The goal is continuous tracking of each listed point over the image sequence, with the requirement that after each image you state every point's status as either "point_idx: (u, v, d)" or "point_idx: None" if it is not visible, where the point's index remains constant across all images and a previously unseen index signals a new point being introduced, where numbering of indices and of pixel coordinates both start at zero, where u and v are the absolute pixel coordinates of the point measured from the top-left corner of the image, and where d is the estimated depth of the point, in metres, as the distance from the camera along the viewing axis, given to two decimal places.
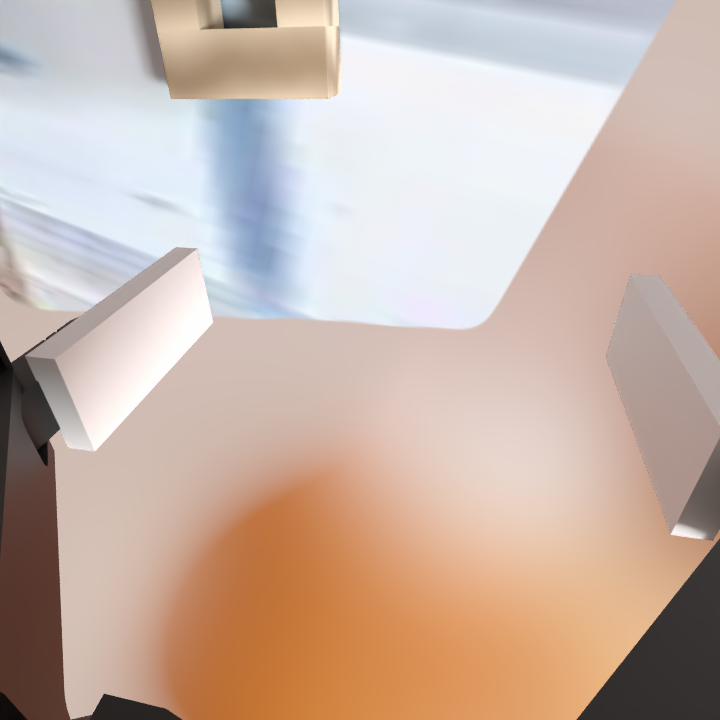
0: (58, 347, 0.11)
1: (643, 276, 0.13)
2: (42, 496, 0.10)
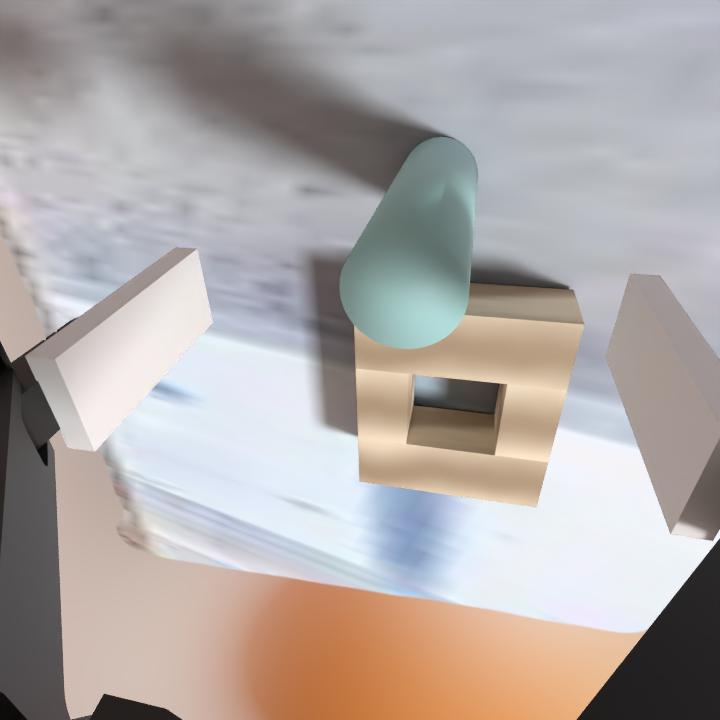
0: (58, 347, 0.11)
1: (643, 276, 0.13)
2: (42, 496, 0.10)
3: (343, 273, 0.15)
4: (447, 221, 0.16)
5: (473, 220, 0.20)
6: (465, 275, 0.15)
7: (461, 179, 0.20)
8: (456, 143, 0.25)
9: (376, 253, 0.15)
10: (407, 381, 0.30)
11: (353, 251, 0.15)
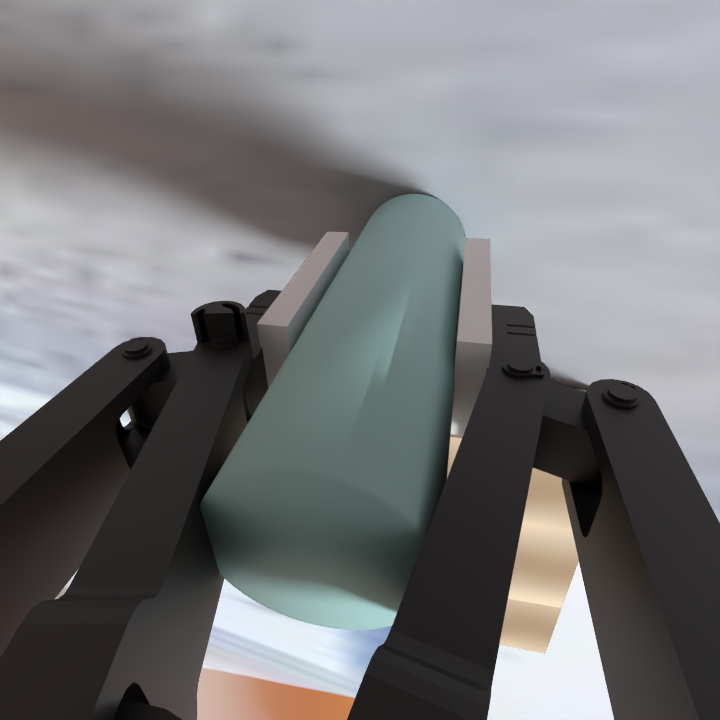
0: (282, 316, 0.12)
1: (475, 239, 0.16)
2: None
3: None
4: (400, 407, 0.09)
5: (455, 351, 0.12)
6: None
7: (437, 278, 0.13)
8: (435, 204, 0.18)
9: (255, 497, 0.07)
10: None
11: (212, 489, 0.08)
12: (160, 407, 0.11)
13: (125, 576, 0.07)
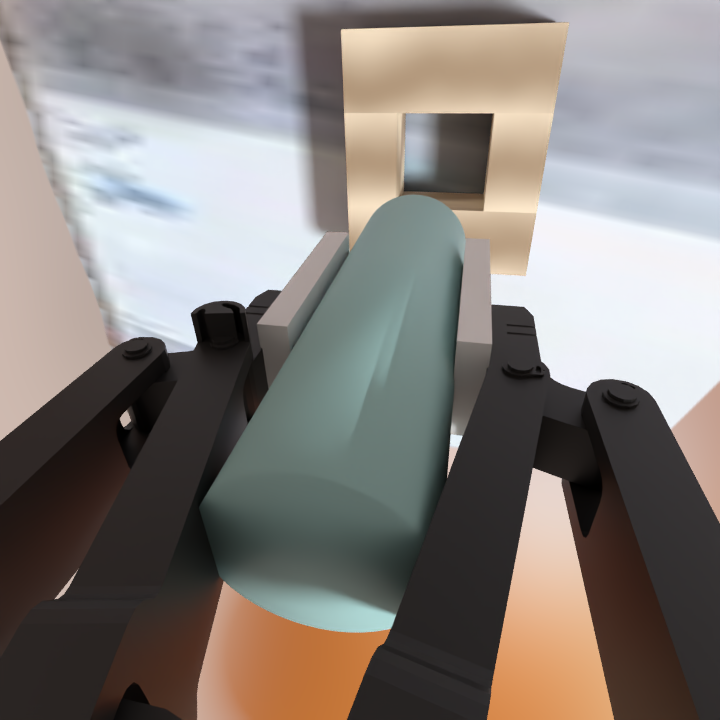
0: (282, 316, 0.12)
1: (475, 239, 0.16)
2: None
3: None
4: (400, 409, 0.09)
5: None
6: None
7: (437, 280, 0.13)
8: (435, 205, 0.18)
9: (253, 501, 0.07)
10: (395, 123, 0.30)
11: (211, 492, 0.08)
12: (160, 407, 0.11)
13: (125, 576, 0.06)
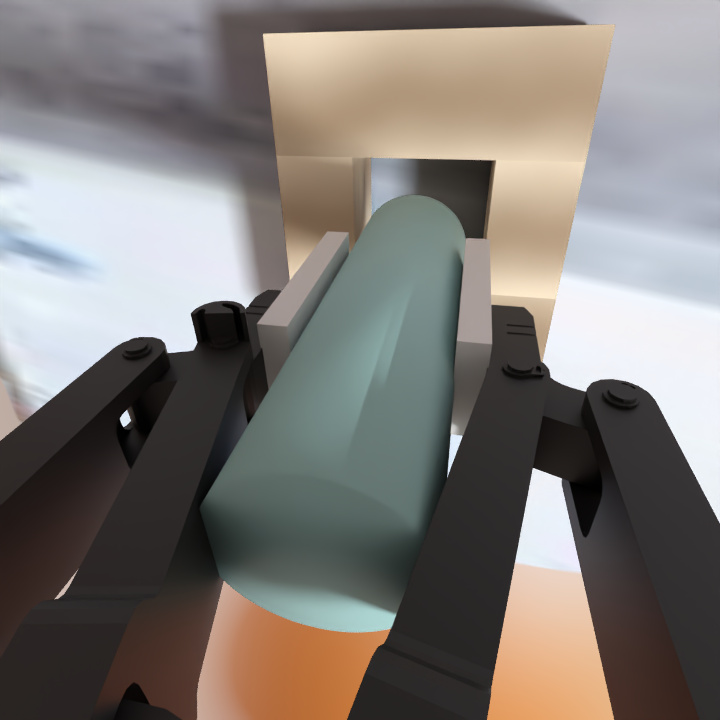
0: (282, 316, 0.12)
1: (475, 239, 0.16)
2: None
3: None
4: (400, 410, 0.09)
5: (455, 353, 0.12)
6: None
7: (437, 280, 0.13)
8: (435, 206, 0.18)
9: (254, 501, 0.07)
10: (351, 171, 0.20)
11: (212, 492, 0.08)
12: (160, 407, 0.11)
13: (125, 576, 0.06)
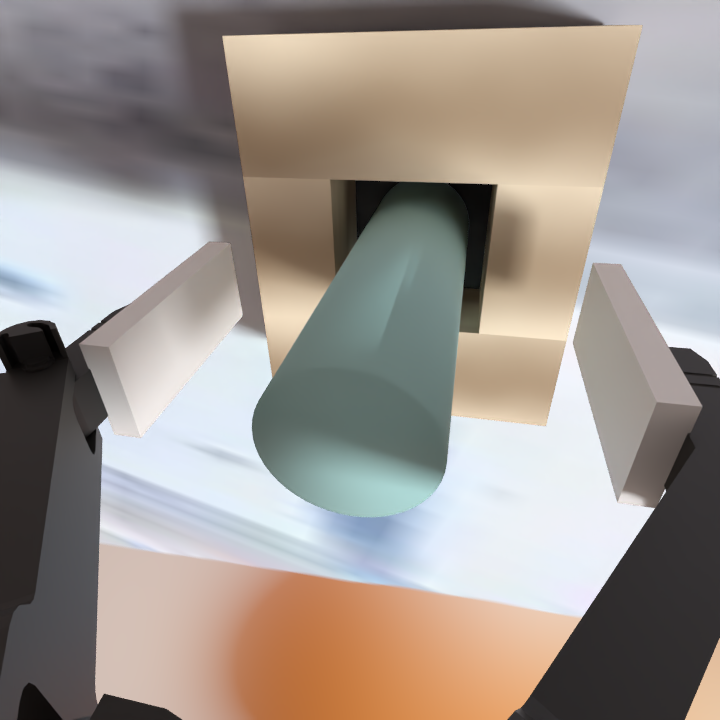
0: (110, 336, 0.11)
1: (605, 265, 0.14)
2: (87, 484, 0.10)
3: (256, 417, 0.10)
4: (416, 332, 0.11)
5: (459, 304, 0.14)
6: (440, 432, 0.09)
7: (444, 244, 0.15)
8: (441, 186, 0.20)
9: (302, 395, 0.09)
10: (329, 195, 0.17)
11: (268, 390, 0.10)
12: None
13: None
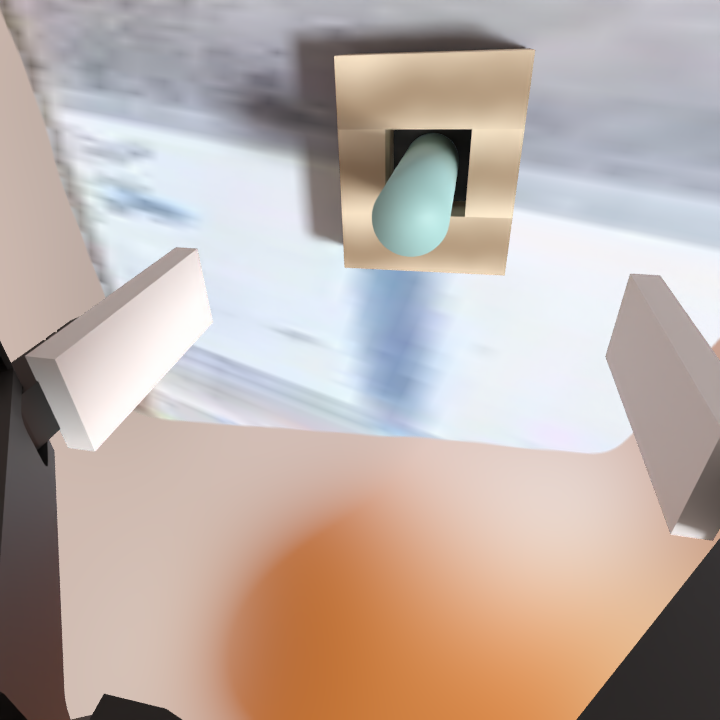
0: (58, 347, 0.11)
1: (643, 276, 0.13)
2: (42, 496, 0.10)
3: (374, 207, 0.26)
4: (436, 176, 0.26)
5: (454, 183, 0.30)
6: (447, 205, 0.25)
7: (446, 157, 0.31)
8: (443, 137, 0.35)
9: (394, 193, 0.25)
10: (384, 138, 0.33)
11: (380, 193, 0.25)
12: None
13: None
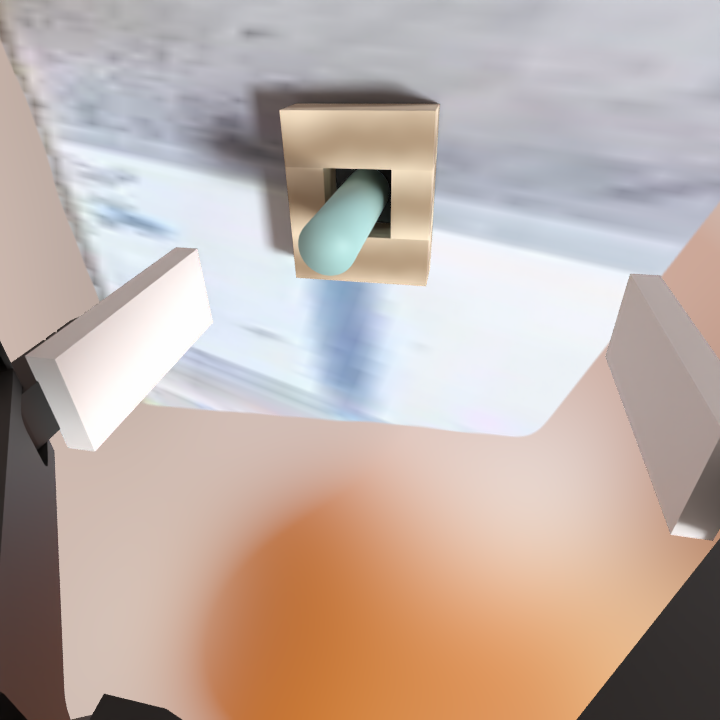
0: (58, 347, 0.11)
1: (643, 276, 0.13)
2: (42, 496, 0.10)
3: (299, 238, 0.33)
4: (349, 214, 0.34)
5: (372, 215, 0.37)
6: (353, 238, 0.32)
7: (368, 193, 0.38)
8: (374, 171, 0.43)
9: (313, 228, 0.33)
10: (322, 175, 0.41)
11: None
12: None
13: None
